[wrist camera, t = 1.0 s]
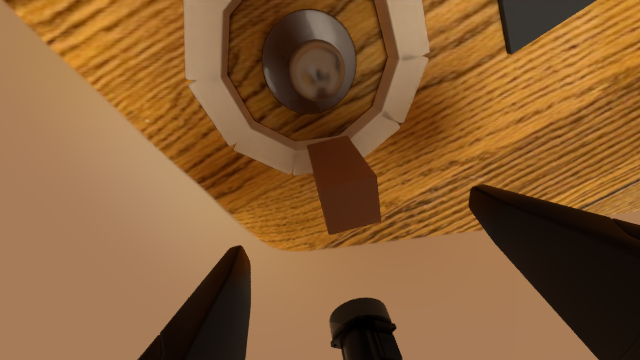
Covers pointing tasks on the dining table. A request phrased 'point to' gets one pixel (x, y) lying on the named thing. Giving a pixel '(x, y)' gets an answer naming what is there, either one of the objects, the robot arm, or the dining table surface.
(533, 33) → the rubber mat
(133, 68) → the dining table surface
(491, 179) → the dining table surface
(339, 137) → the ivory ring
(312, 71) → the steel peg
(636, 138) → the dining table surface
